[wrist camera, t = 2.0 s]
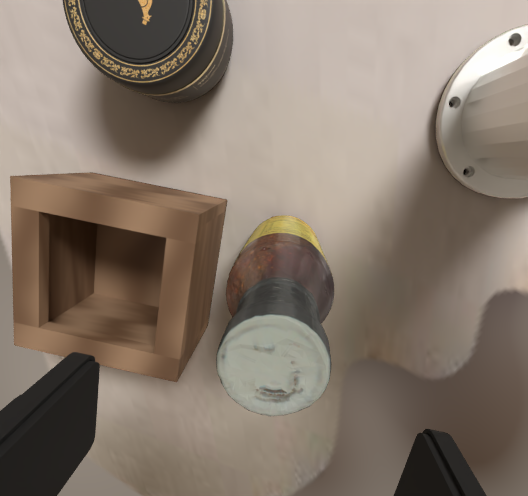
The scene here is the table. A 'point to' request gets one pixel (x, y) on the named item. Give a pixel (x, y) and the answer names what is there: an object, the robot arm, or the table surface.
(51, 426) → the robot arm
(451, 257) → the table surface
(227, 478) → the table surface
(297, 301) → the sauce bottle
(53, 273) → the walnut box
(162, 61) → the jar
